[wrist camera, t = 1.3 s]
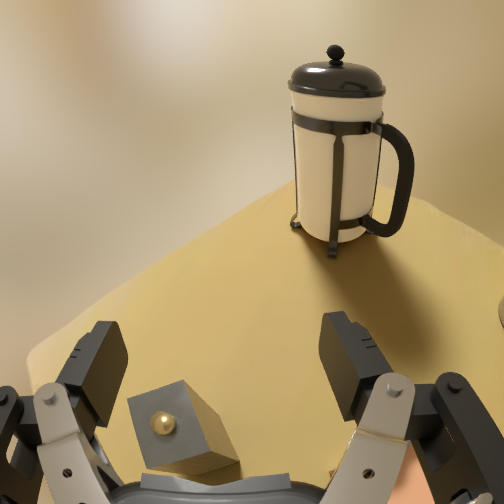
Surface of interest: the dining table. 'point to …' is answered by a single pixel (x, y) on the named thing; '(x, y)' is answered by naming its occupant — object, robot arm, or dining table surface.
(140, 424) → the block
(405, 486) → the dock
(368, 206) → the coffee press
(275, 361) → the dining table surface
